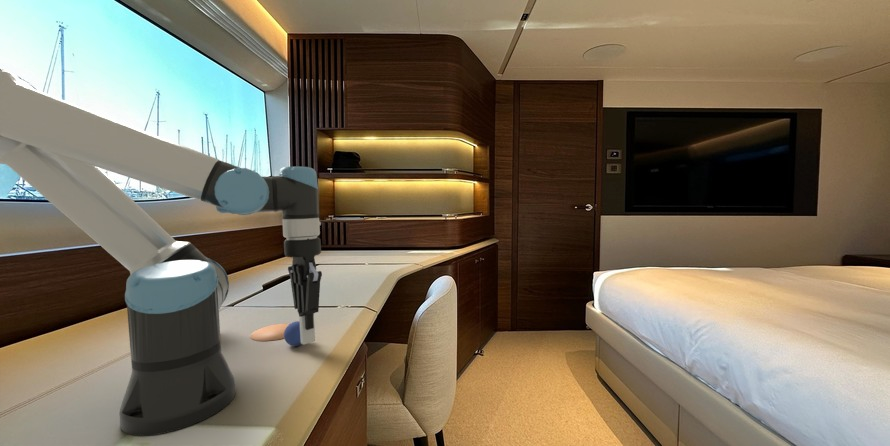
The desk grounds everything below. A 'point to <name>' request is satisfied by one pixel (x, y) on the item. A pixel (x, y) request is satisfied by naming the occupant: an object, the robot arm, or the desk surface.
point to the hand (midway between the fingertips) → (307, 341)
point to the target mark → (270, 332)
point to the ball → (293, 334)
